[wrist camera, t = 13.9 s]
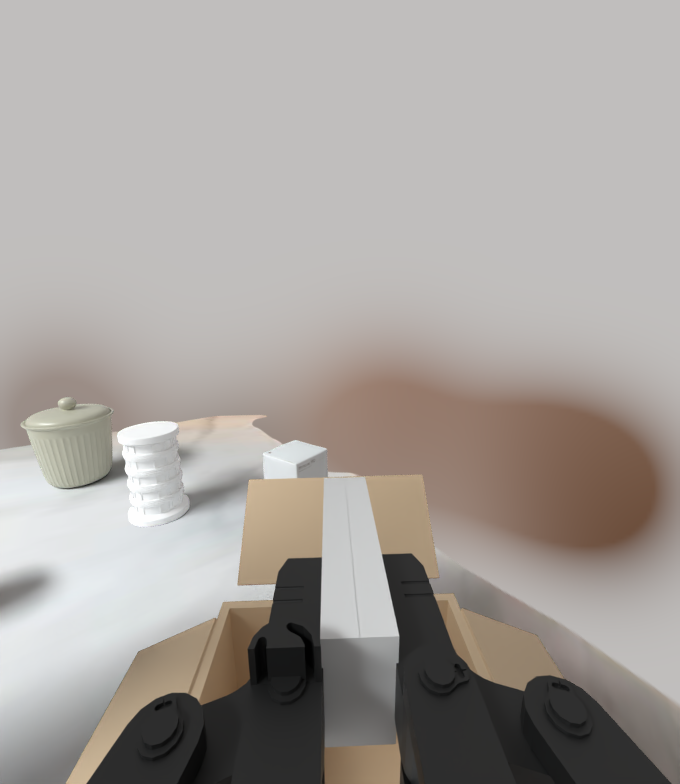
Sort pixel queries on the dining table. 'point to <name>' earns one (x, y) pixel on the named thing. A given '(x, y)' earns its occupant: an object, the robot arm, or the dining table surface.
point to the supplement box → (295, 461)
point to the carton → (231, 671)
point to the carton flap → (305, 523)
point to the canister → (72, 442)
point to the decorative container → (153, 473)
